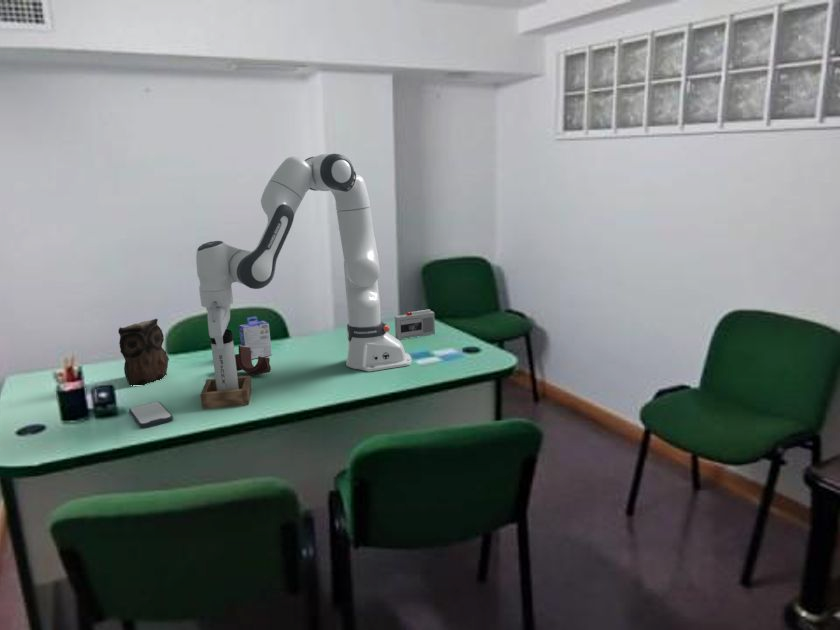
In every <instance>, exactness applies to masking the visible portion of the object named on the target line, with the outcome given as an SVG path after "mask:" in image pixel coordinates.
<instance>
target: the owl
mask: <svg viewBox="0 0 840 630" xmlns="http://www.w3.org/2000/svg"><path fill="white" fill-rule="evenodd" d="M158 320H159V319H158V318H153V319H151V320H146V321H145V320H144V321H141V322H138V323H133V324H131V325H127V326H125V327H121V326H120V327H119V328H118V331H117V332H118V335H119V343H118V344H119V349H120V353H121V355H122V356H123V359H124V365H123V372H124V376H125V379H126V381H127V382H128V386H129V385H132V386H133V385H143V386H146V385H145V384H147V383H149V384H151V383H150V382H153V383H155V382H157V381H156V380H159V381H161V380H163V379H164V378H165V377H166V376H168V373H167V371H168V367H169V361H170V359H169V357H168V354H167V351H166V350H165V349H164V348H163V343H164V341H165V339H164V338H165V337H164V333H163V330H162V328H161V327H160V326H159V325H158V322H159V321H158ZM165 375H166V376H165ZM164 376H165V377H164ZM163 377H164V378H163ZM162 378H163V379H162ZM160 379H161V380H160ZM154 381H155V382H154ZM147 385H148V384H147Z"/></svg>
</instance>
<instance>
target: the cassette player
mask: <svg viewBox="0 0 840 630" xmlns="http://www.w3.org/2000/svg"><path fill="white" fill-rule="evenodd" d="M435 323H436V322H435V312H434V311H432V310H431V309H429V308H428V309H421V310H417V311H408V312H406V314H399V315H395V316H394V329H395V338H397V339H402V340H405V339H404V338H408V339H411V338H410V337H415V338H418V337H417V336H421V337H424V336H423V335H427V336H431V335H430V334H434V335H435V334H436V332H435V331H436V325H435Z"/></svg>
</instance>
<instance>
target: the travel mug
mask: <svg viewBox="0 0 840 630" xmlns="http://www.w3.org/2000/svg"><path fill="white" fill-rule="evenodd" d="M223 342H224V347H223V349H217V344H216V341H215V338H210V345H211V353H212V361H213V369H214V379H216V387H217V391H225V390H236V389H239V386H238V377H239V376H238V371H237V369H236V360H235V354H236V353H235V345H234V338H233V331H232V330H230V329H226V330H225V332H224V335H223Z"/></svg>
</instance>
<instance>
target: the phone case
mask: <svg viewBox="0 0 840 630" xmlns="http://www.w3.org/2000/svg"><path fill="white" fill-rule="evenodd" d="M128 409H129V410H128V413H129V414H130V416H131V417H132V418H133V420H134V422H135V423H136V424H137V426H138V427H139V428H141V429H147V428H151V427H155V426H158V425H163V424H167V423H170V422H173V420H174V419H173V418H174V417H173V415H172V414H171V412H169V411H168V409H167V408H166V407H165V406H164V405H163V404H162V403H161V402H160V401H155V402H149V403H145V404H141V405H137V406H132V407H130V408H128Z"/></svg>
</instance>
